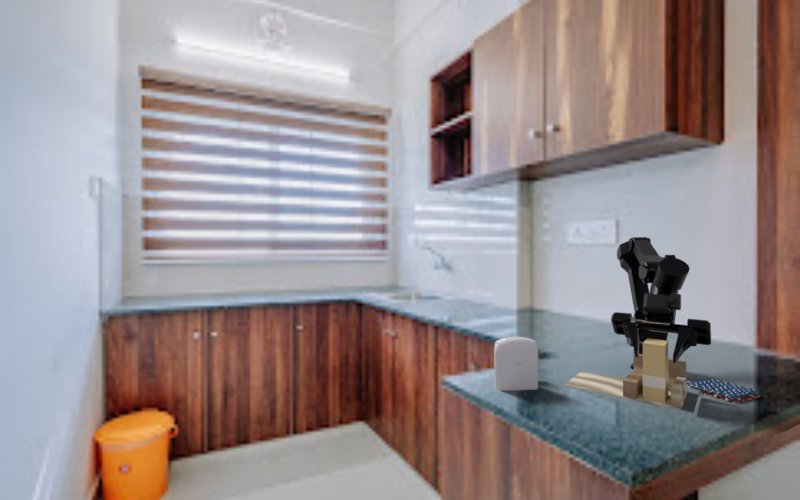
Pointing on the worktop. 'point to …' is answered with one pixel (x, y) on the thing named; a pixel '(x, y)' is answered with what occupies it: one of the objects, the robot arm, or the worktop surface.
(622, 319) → the robot arm
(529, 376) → the photo printer
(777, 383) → the worktop surface
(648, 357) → the tea box
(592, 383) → the wooden blocks on plank
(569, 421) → the worktop surface
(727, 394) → the woven mat
